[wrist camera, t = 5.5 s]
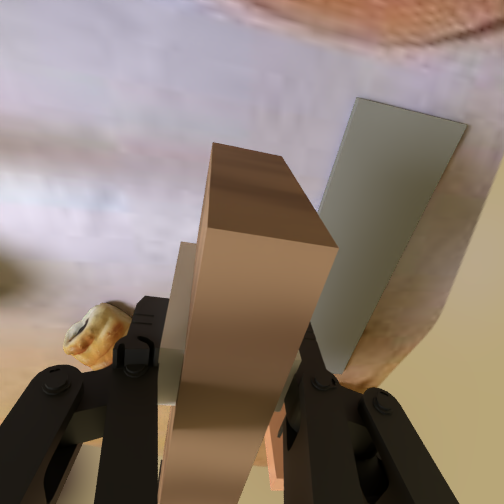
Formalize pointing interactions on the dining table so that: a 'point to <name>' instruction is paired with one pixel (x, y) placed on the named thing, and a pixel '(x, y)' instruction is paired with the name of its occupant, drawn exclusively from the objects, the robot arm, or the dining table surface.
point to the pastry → (97, 335)
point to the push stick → (241, 321)
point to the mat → (374, 213)
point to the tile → (275, 450)
